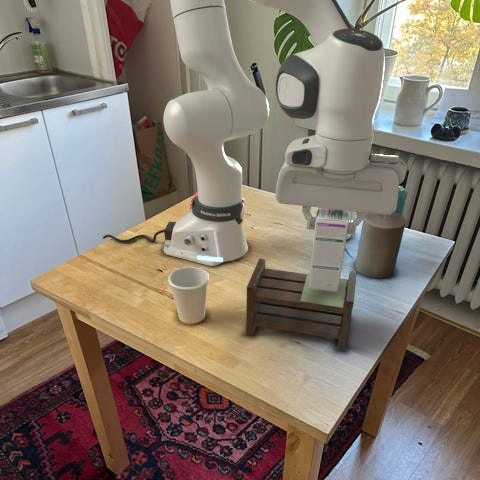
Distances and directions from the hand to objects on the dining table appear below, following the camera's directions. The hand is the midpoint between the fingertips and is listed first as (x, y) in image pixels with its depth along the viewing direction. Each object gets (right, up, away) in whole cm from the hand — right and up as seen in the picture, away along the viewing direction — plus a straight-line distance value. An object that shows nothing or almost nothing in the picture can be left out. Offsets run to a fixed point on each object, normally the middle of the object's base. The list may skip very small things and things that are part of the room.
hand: (330, 230), depth 80 cm
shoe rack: (-4, -17, +15) cm, 23 cm away
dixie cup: (-27, -15, +18) cm, 36 cm away
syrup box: (0, -9, +7) cm, 11 cm away
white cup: (+12, +8, +48) cm, 50 cm away
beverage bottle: (+23, +4, +42) cm, 48 cm away
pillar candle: (+18, -3, +33) cm, 38 cm away
